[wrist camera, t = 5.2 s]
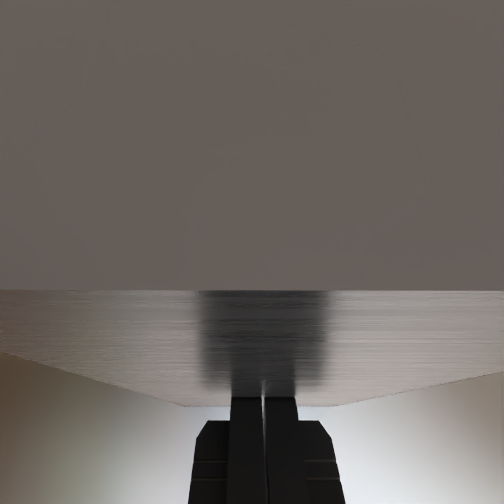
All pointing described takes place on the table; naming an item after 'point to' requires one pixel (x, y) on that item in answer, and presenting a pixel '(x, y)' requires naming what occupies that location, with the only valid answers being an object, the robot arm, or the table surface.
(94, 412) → the table surface
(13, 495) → the table surface
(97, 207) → the tall gray rectangular post
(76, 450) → the table surface
